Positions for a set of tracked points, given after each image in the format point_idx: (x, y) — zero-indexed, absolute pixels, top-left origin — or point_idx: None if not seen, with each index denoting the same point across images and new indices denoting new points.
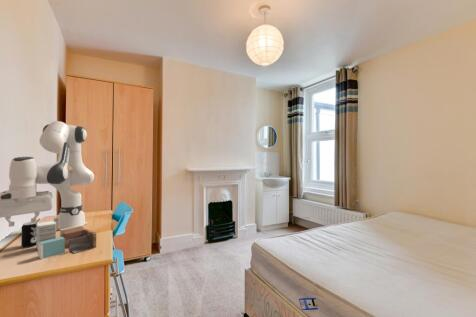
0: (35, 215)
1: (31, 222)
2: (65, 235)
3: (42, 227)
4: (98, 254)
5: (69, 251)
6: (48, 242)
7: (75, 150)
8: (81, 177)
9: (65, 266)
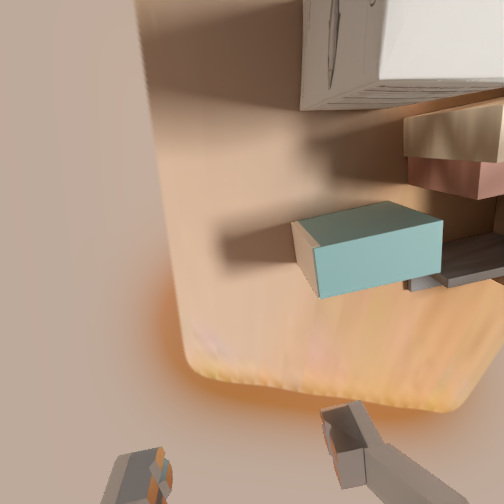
0: (408, 500)
1: (322, 419)
2: (470, 196)
3: (406, 85)
4: (459, 356)
5: None
6: (354, 290)
7: None
8: None
9: (346, 389)
